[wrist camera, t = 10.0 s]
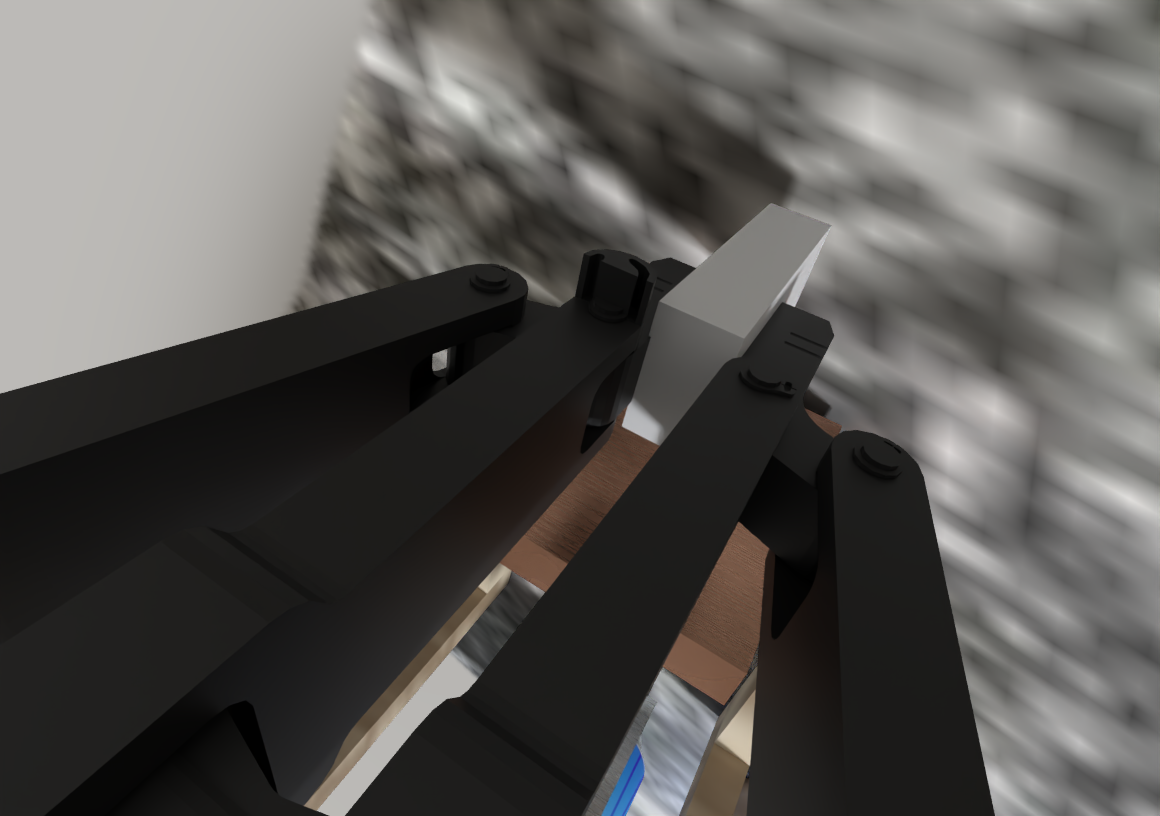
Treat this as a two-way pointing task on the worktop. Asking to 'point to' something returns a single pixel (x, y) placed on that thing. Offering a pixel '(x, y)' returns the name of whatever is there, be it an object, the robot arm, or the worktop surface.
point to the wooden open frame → (728, 744)
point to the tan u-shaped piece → (722, 612)
